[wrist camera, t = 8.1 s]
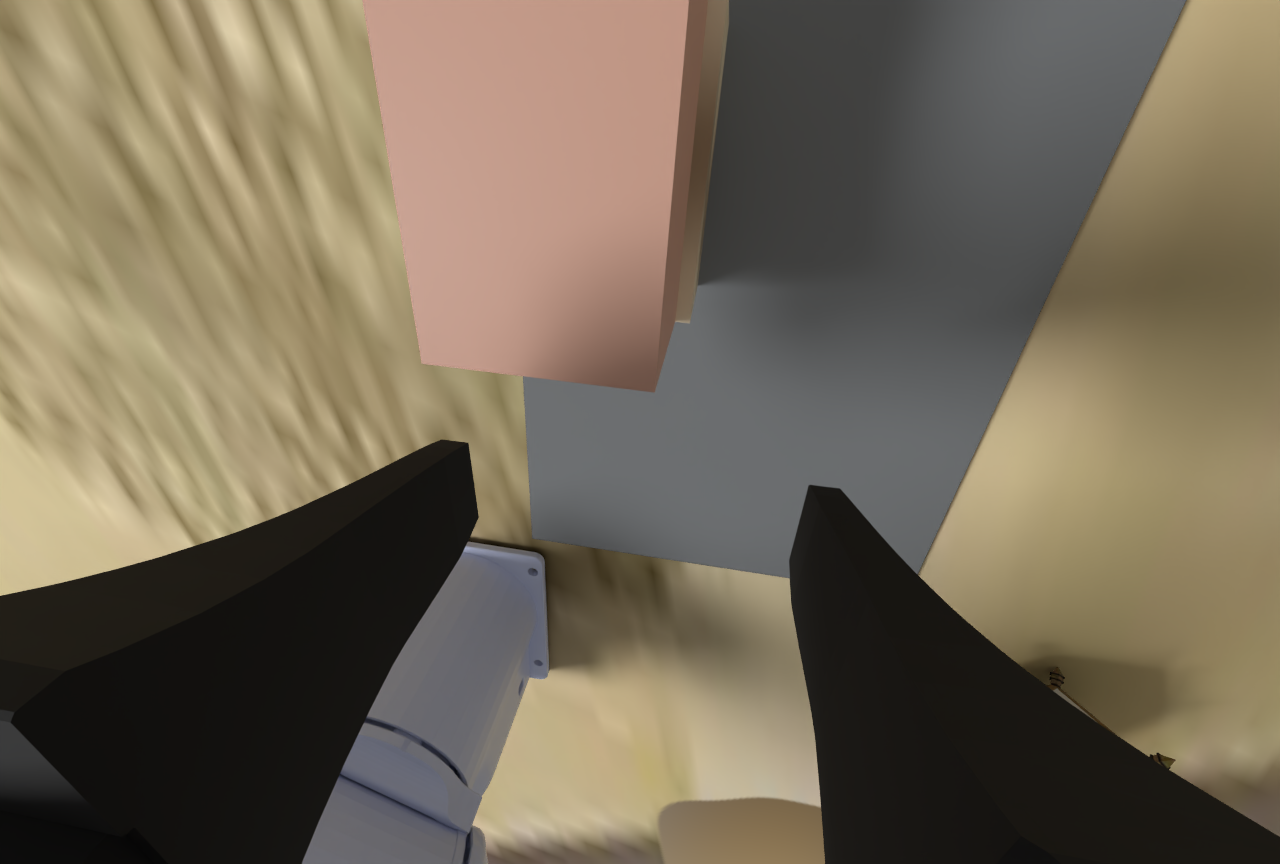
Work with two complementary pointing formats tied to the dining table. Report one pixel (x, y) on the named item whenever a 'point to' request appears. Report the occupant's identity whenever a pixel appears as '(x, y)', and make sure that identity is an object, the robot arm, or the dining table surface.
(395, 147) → the terracotta block
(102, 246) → the dining table surface
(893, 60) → the mat
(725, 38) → the maple block
